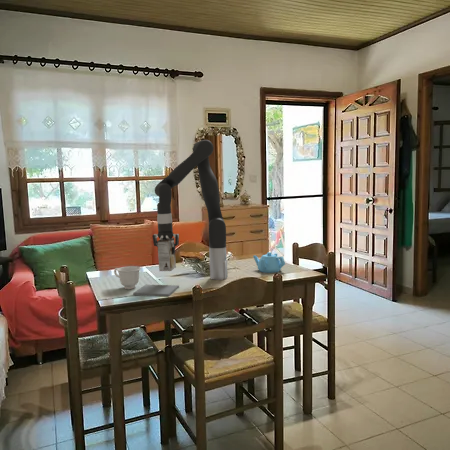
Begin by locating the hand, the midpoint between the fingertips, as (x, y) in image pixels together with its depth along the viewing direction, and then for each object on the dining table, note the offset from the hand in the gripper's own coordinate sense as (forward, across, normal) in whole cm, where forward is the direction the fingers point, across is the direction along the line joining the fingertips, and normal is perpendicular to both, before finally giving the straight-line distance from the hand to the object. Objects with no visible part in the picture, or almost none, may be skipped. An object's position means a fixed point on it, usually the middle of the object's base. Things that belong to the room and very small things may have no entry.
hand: (166, 253), depth 223 cm
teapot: (+17, -50, -37) cm, 64 cm away
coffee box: (+8, 0, 0) cm, 8 cm away
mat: (+16, +2, +14) cm, 21 cm away
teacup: (+16, +19, +8) cm, 26 cm away
